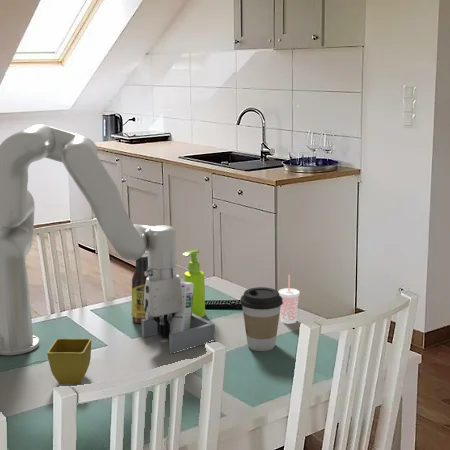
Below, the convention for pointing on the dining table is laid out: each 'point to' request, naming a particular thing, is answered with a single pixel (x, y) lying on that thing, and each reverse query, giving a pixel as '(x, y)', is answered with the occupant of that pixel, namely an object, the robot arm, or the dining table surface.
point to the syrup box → (183, 310)
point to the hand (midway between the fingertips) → (163, 336)
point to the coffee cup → (261, 317)
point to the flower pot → (69, 359)
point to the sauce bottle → (139, 289)
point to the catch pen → (184, 333)
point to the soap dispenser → (196, 283)
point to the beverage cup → (289, 304)
